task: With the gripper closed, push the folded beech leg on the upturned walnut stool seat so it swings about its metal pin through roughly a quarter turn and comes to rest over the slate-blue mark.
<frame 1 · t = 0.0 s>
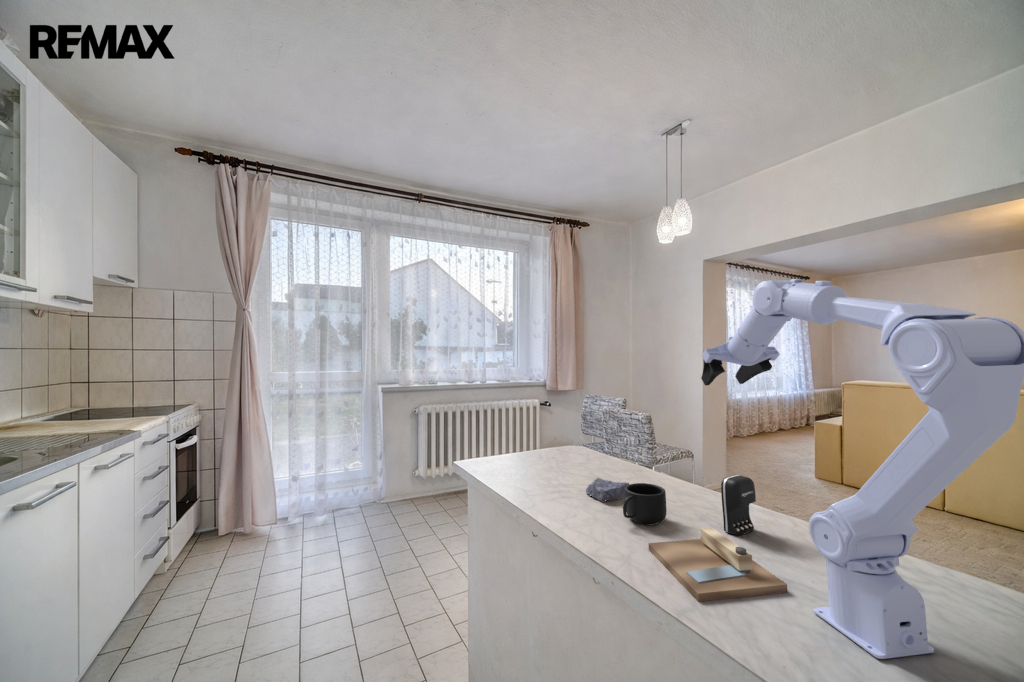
hand: (721, 380, 83), 32 cm above the counter, tool tilted 50°, fingers open, 7 cm apart
mug: (642, 522, 91), on the counter
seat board: (710, 568, 70), on the counter
battery charger: (741, 532, 84), on the counter
rock: (603, 497, 109), on the counter
leg: (724, 545, 72), point 3 cm above the counter, hinge at 0.0°
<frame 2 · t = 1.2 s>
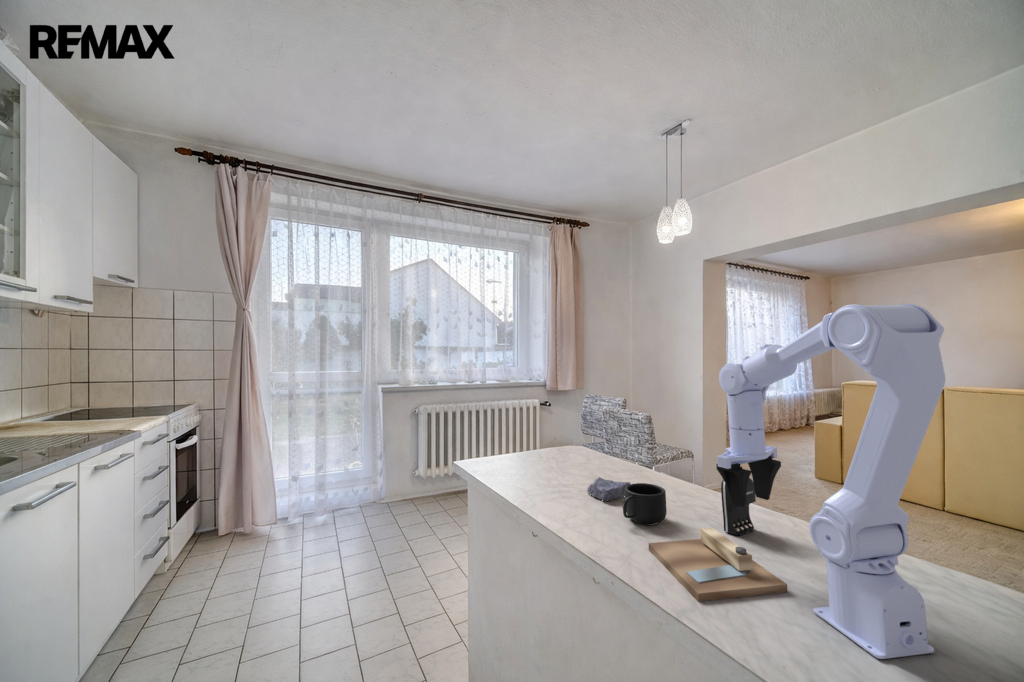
hand: (750, 501, 73), 10 cm above the counter, tool pointing down, fingers open, 6 cm apart
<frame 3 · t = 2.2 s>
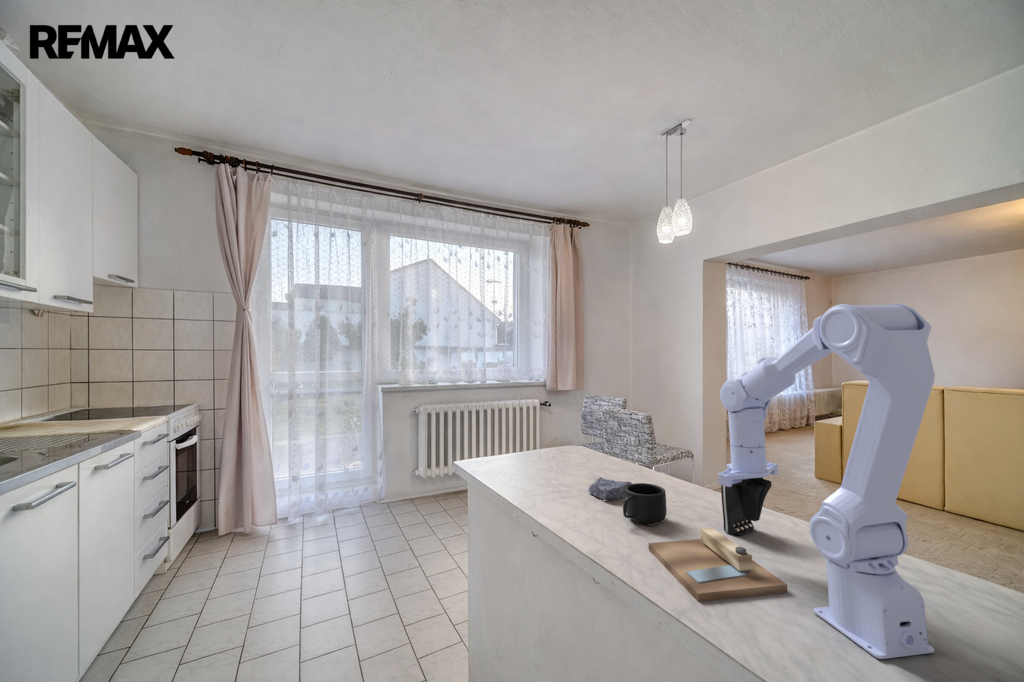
hand: (751, 518, 73), 7 cm above the counter, tool pointing down, fingers closed
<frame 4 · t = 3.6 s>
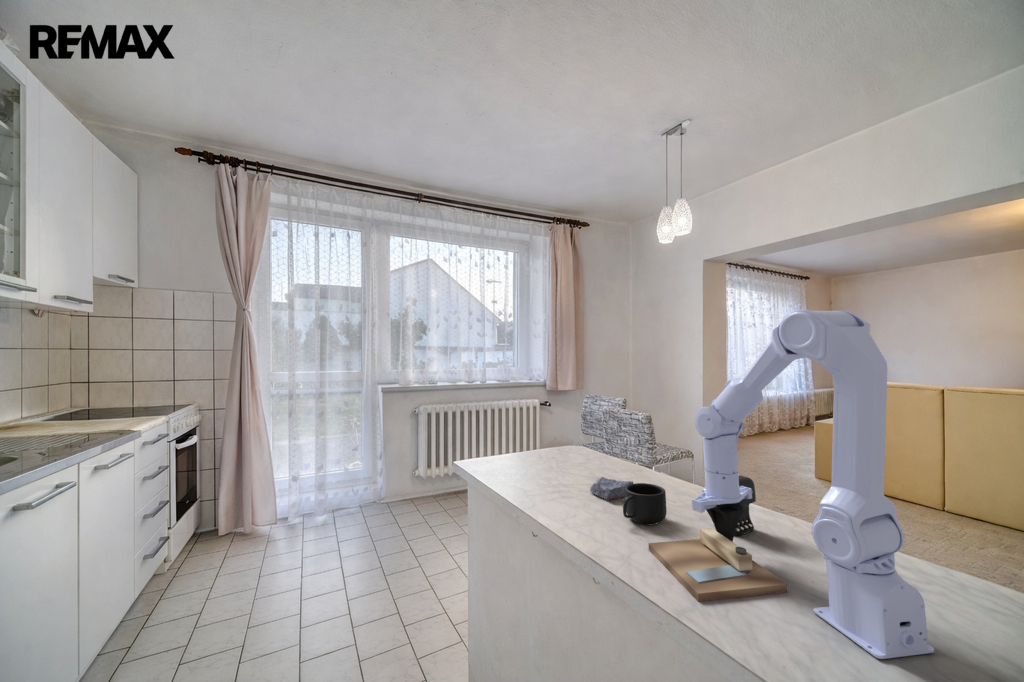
hand: (725, 543, 75), 2 cm above the counter, tool pointing down, fingers closed
leg: (724, 545, 72), point 3 cm above the counter, hinge at 1.1°, touching gripper
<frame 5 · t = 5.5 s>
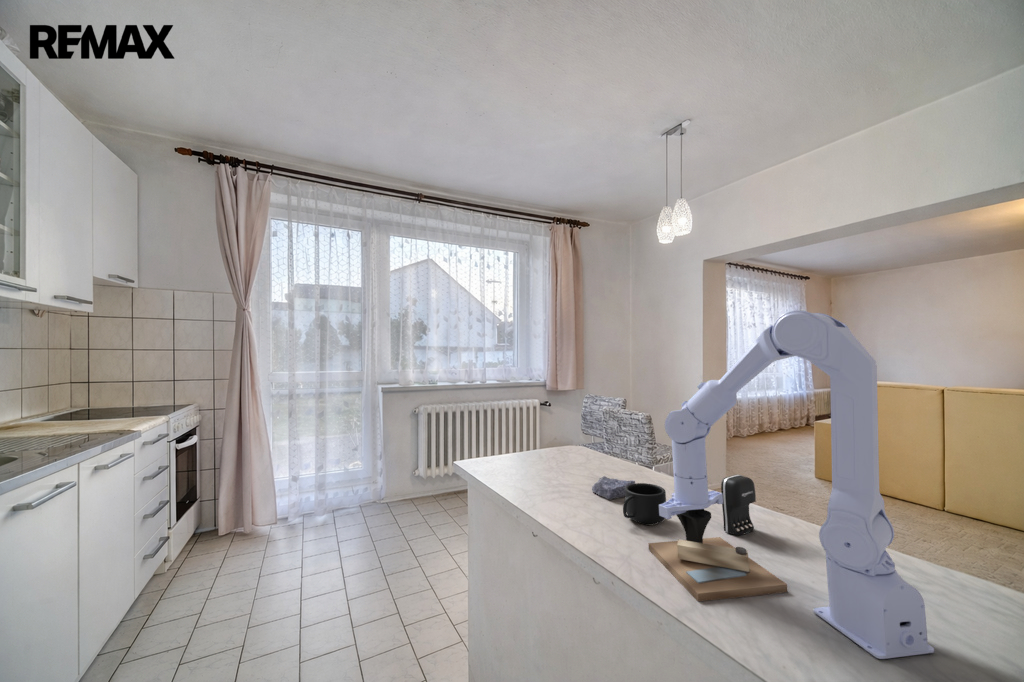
hand: (694, 549, 73), 2 cm above the counter, tool pointing down, fingers closed, pressing on leg
leg: (711, 552, 69), point 3 cm above the counter, hinge at 56.7°, touching gripper
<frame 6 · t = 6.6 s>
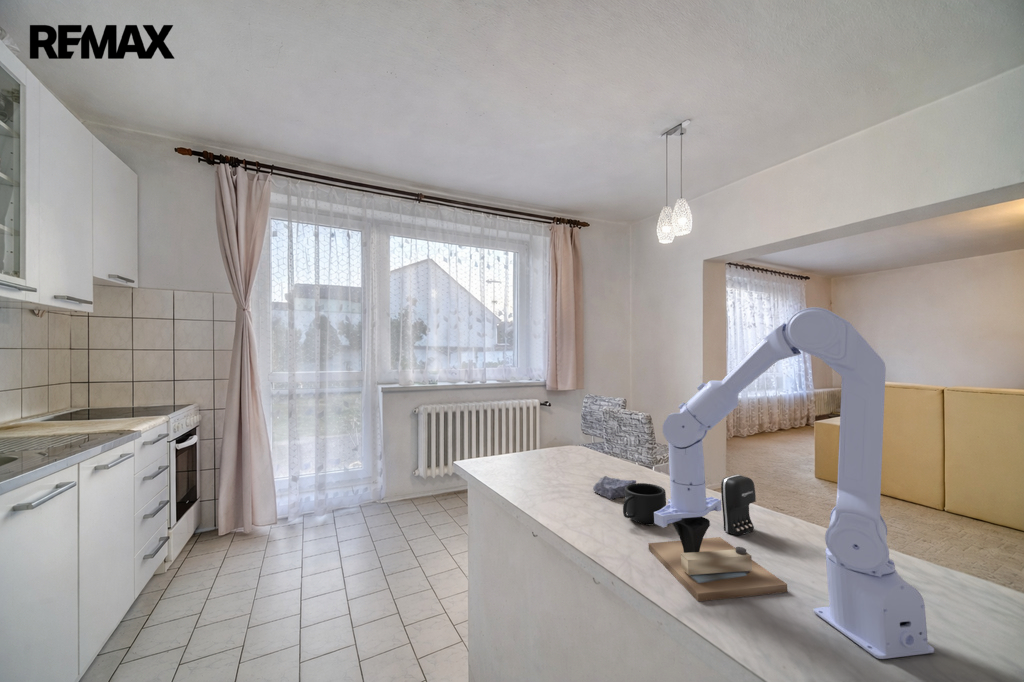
hand: (691, 559, 69), 2 cm above the counter, tool pointing down, fingers closed, pressing on leg
leg: (715, 559, 67), point 3 cm above the counter, hinge at 87.8°, touching gripper
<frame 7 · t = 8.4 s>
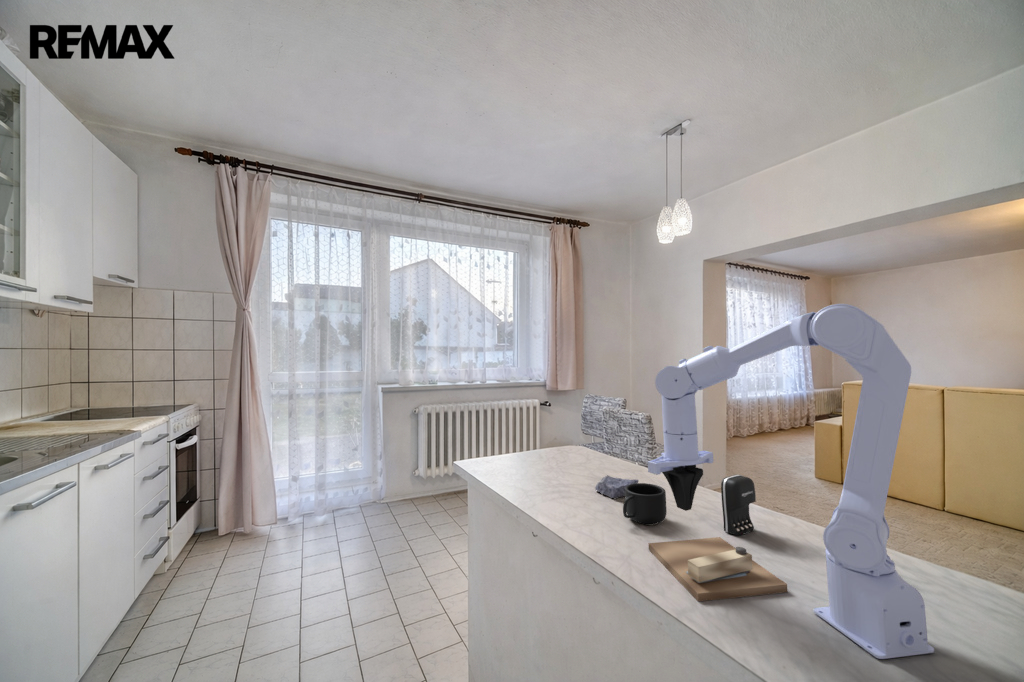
hand: (684, 508, 71), 10 cm above the counter, tool pointing down, fingers closed
leg: (720, 562, 66), point 3 cm above the counter, hinge at 101.1°
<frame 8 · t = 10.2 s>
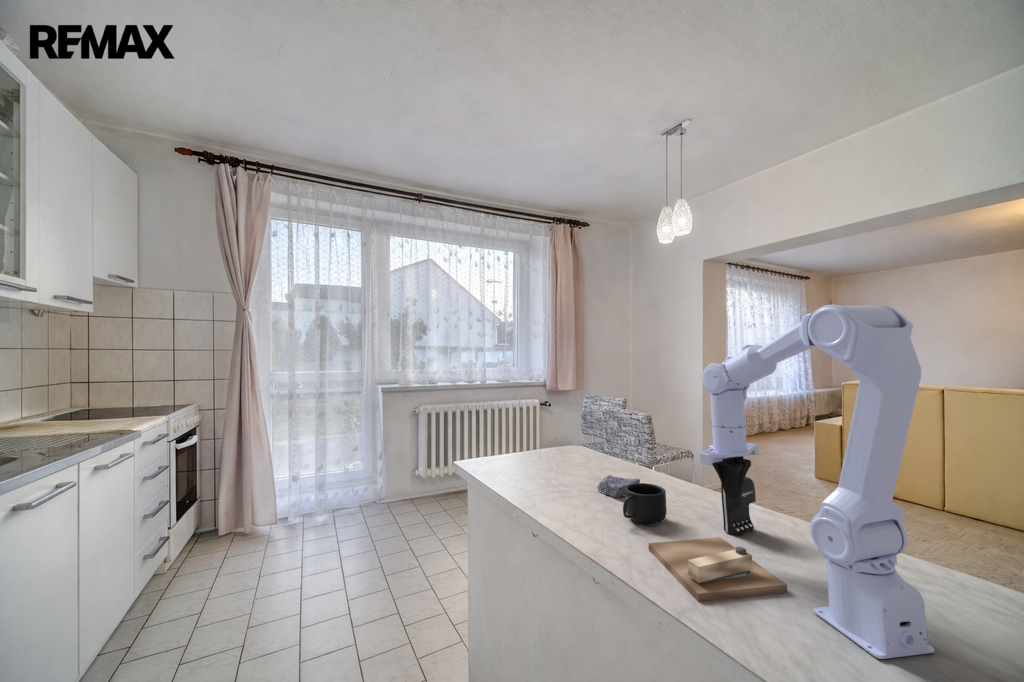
hand: (732, 497, 76), 10 cm above the counter, tool pointing down, fingers closed
at the end: leg at +101° (first picture: +0°) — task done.
